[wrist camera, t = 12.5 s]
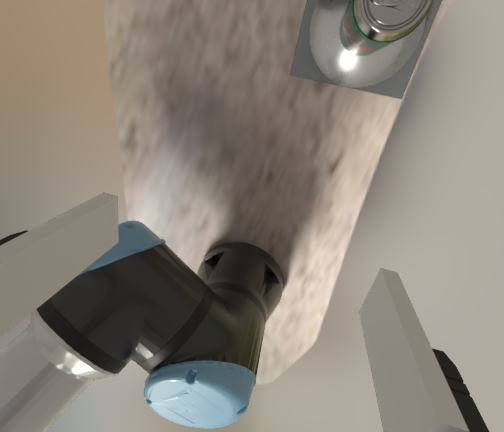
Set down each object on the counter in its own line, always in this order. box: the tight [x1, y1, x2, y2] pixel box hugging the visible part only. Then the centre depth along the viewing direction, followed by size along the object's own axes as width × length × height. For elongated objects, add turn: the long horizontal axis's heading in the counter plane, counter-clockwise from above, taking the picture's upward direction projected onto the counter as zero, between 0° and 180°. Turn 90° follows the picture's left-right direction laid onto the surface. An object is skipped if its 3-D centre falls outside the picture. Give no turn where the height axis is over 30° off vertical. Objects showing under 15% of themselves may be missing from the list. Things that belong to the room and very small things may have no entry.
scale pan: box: [310, 0, 426, 88], centre depth 29 cm, size 11×11×2 cm
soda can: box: [339, 0, 433, 56], centre depth 23 cm, size 5×5×12 cm
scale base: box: [290, 0, 442, 99], centre depth 31 cm, size 12×13×3 cm
